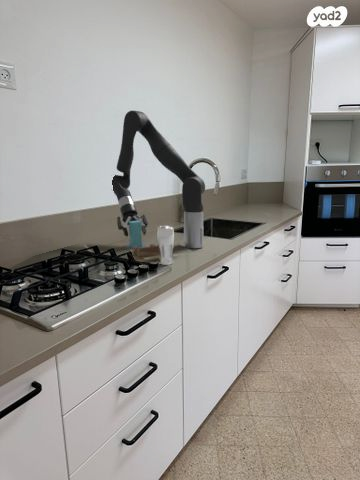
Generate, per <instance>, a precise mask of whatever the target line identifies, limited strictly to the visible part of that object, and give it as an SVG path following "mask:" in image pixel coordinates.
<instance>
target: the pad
mask: <svg viewBox="0 0 360 480" xmlns="http://www.w3.org/2000/svg"><path fill="white" fill-rule="evenodd" d="M122 247H123V248H125V249H127V250H128V251H133V248H132V247H130V244H125V245H122ZM142 247H148V246H147V245H146V244H144V243H142ZM142 247H139V248H142Z"/></svg>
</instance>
